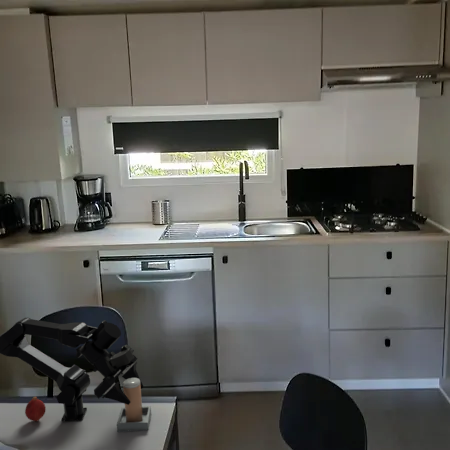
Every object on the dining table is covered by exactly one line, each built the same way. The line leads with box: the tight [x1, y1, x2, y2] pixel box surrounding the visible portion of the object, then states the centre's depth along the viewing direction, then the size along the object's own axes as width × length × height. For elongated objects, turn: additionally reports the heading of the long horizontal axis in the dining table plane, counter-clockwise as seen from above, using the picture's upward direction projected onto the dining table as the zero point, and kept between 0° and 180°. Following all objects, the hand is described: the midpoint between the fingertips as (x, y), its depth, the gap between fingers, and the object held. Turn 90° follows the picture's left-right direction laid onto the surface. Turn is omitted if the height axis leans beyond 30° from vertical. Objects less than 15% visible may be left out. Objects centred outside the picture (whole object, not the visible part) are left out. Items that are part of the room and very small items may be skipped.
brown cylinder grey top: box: [122, 378, 143, 422], centre depth 152 cm, size 5×5×12 cm
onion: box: [24, 396, 47, 422], centre depth 155 cm, size 6×6×8 cm
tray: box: [116, 405, 152, 433], centre depth 153 cm, size 9×9×2 cm
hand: (136, 395), depth 151 cm, fingers open, 9 cm apart
